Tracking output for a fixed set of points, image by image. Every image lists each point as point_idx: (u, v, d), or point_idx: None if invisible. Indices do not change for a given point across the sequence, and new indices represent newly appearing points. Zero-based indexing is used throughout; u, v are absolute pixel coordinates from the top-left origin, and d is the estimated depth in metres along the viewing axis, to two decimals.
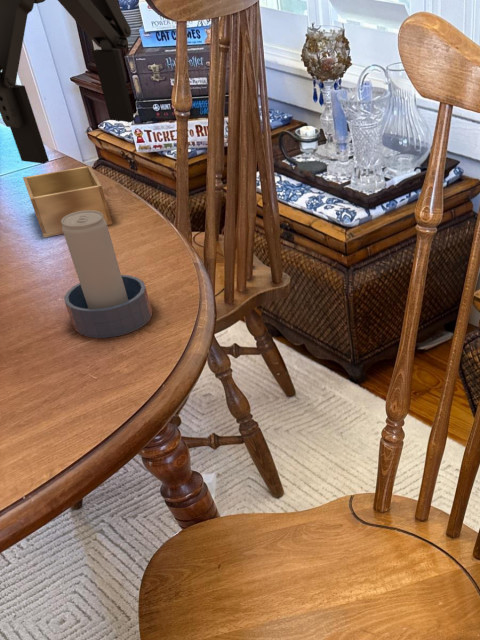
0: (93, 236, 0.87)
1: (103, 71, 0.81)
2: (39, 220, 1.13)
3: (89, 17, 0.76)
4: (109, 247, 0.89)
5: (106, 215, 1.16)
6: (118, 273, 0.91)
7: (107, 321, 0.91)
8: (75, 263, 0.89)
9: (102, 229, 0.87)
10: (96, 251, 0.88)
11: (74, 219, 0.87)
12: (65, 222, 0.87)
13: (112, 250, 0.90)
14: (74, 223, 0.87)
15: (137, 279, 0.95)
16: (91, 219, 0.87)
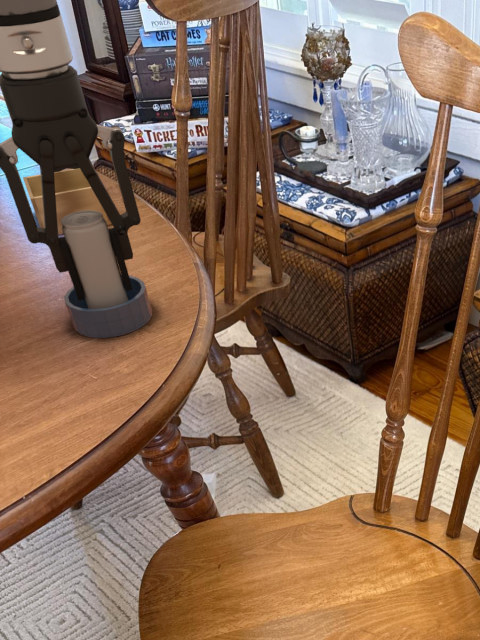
0: (93, 236, 0.87)
1: (113, 246, 0.91)
2: (39, 220, 1.13)
3: None
4: (109, 247, 0.89)
5: (106, 215, 1.16)
6: (118, 273, 0.91)
7: (107, 321, 0.91)
8: (75, 263, 0.89)
9: (102, 229, 0.87)
10: (96, 251, 0.88)
11: (73, 219, 0.87)
12: (65, 222, 0.87)
13: (112, 250, 0.90)
14: (74, 223, 0.87)
15: (137, 279, 0.95)
16: (91, 219, 0.87)
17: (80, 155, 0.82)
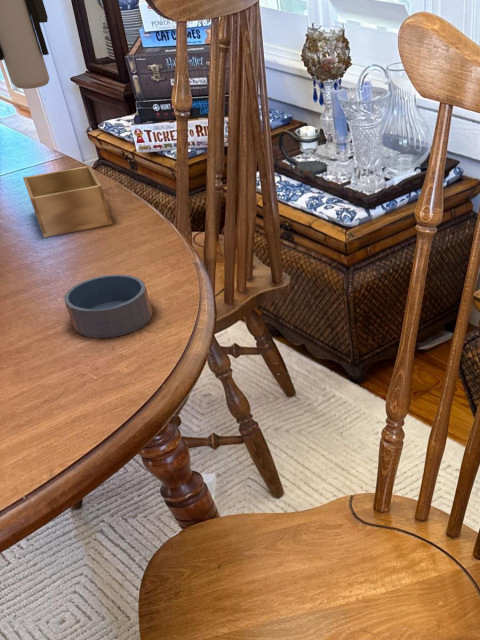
0: None
1: None
2: (39, 220, 1.13)
3: None
4: (23, 5, 0.97)
5: (106, 215, 1.16)
6: (34, 35, 0.99)
7: (107, 321, 0.91)
8: None
9: None
10: (10, 6, 0.96)
11: None
12: None
13: (27, 10, 0.97)
14: None
15: (137, 279, 0.95)
16: None
17: None
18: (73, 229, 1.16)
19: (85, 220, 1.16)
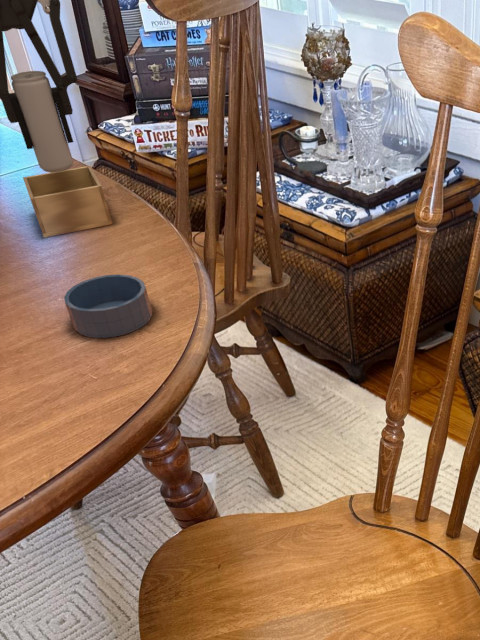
0: (37, 89, 1.05)
1: None
2: (39, 220, 1.13)
3: (39, 55, 1.04)
4: (51, 101, 1.08)
5: (106, 215, 1.16)
6: (60, 126, 1.10)
7: (107, 321, 0.91)
8: (23, 115, 1.08)
9: (45, 84, 1.06)
10: (40, 103, 1.07)
11: (21, 76, 1.06)
12: (14, 78, 1.06)
13: (54, 105, 1.08)
14: (21, 78, 1.05)
15: (137, 279, 0.95)
16: (35, 75, 1.06)
17: (23, 16, 1.01)
18: (73, 229, 1.16)
19: (85, 220, 1.16)
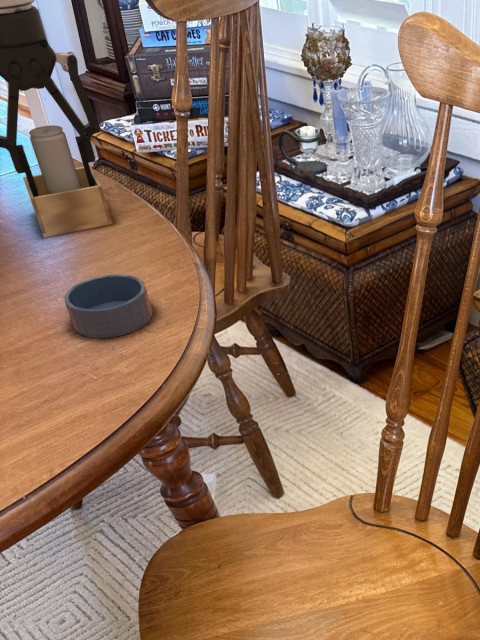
0: (54, 144, 1.10)
1: (79, 151, 1.14)
2: (39, 220, 1.13)
3: (62, 110, 1.09)
4: (68, 154, 1.12)
5: (106, 215, 1.16)
6: (76, 177, 1.15)
7: (107, 321, 0.91)
8: (41, 167, 1.13)
9: (61, 138, 1.11)
10: (57, 157, 1.11)
11: (39, 131, 1.11)
12: (32, 133, 1.10)
13: (70, 157, 1.13)
14: (39, 133, 1.10)
15: (137, 279, 0.95)
16: (53, 131, 1.11)
17: (42, 77, 1.05)
18: (73, 229, 1.16)
19: (85, 220, 1.16)
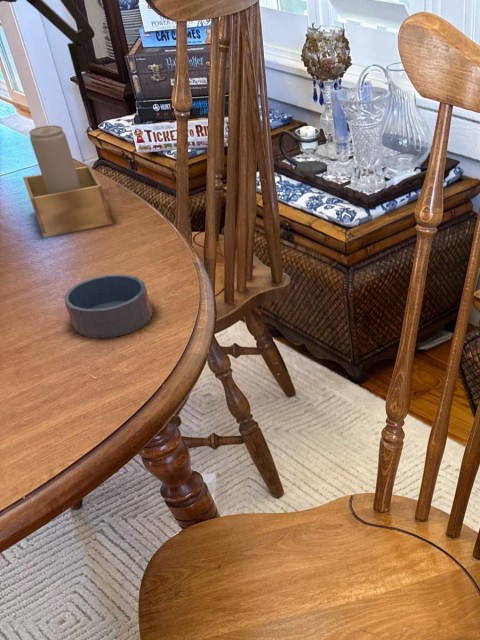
0: (54, 144, 1.10)
1: (71, 59, 1.07)
2: (39, 220, 1.13)
3: None
4: (68, 154, 1.12)
5: (106, 215, 1.16)
6: (76, 177, 1.15)
7: (107, 321, 0.91)
8: (41, 167, 1.13)
9: (61, 138, 1.11)
10: (57, 157, 1.11)
11: (39, 131, 1.11)
12: (32, 133, 1.10)
13: (70, 157, 1.13)
14: (39, 133, 1.10)
15: (137, 279, 0.95)
16: (53, 130, 1.11)
17: None
18: (73, 229, 1.16)
19: (85, 220, 1.16)
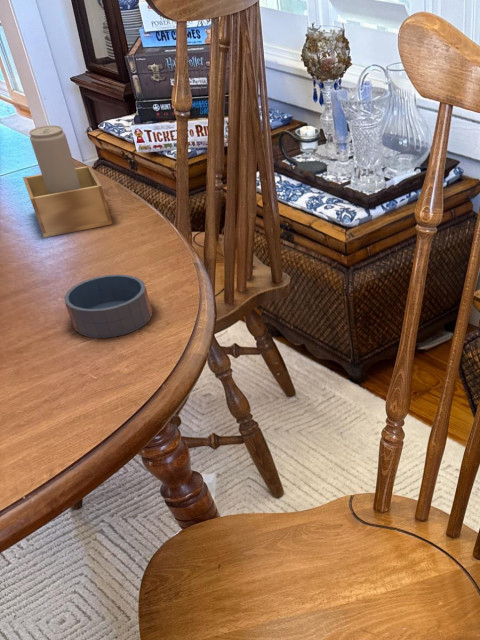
0: (54, 144, 1.10)
1: None
2: (39, 220, 1.13)
3: None
4: (68, 154, 1.12)
5: (106, 215, 1.16)
6: (76, 177, 1.15)
7: (107, 321, 0.91)
8: (41, 167, 1.13)
9: (61, 138, 1.11)
10: (57, 157, 1.11)
11: (39, 131, 1.11)
12: (32, 133, 1.10)
13: (70, 157, 1.13)
14: (39, 133, 1.10)
15: (137, 279, 0.95)
16: (53, 130, 1.11)
17: None
18: (73, 229, 1.16)
19: (85, 220, 1.16)
